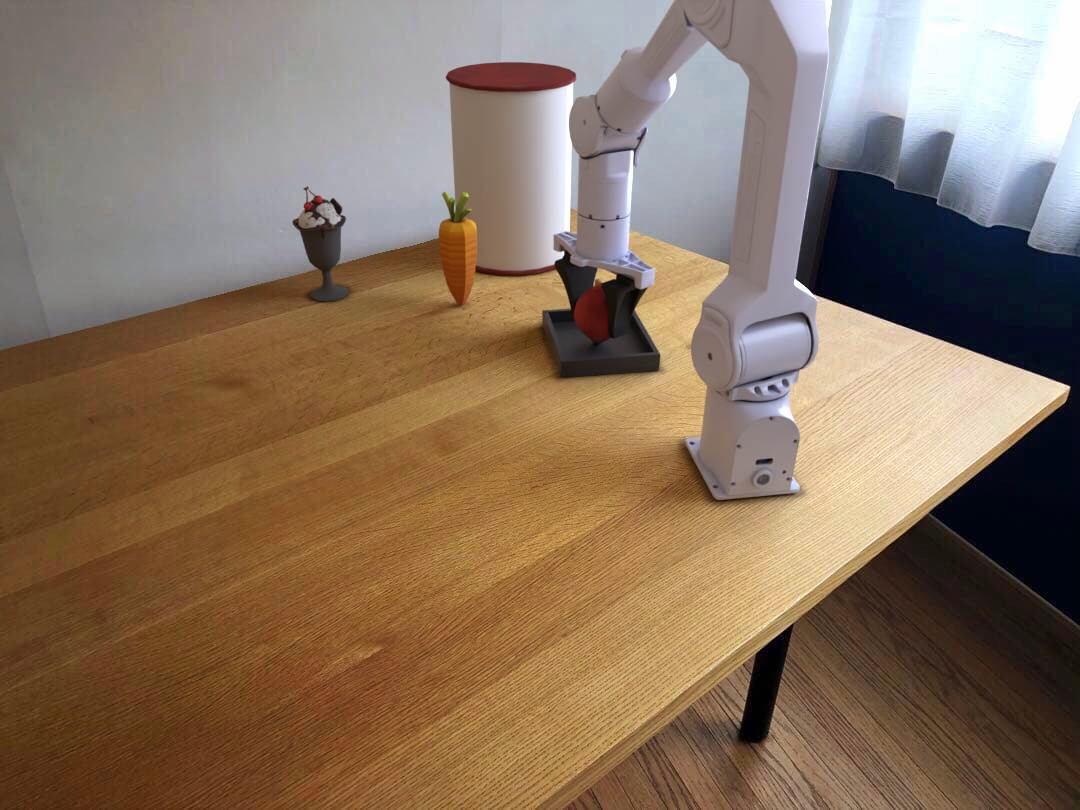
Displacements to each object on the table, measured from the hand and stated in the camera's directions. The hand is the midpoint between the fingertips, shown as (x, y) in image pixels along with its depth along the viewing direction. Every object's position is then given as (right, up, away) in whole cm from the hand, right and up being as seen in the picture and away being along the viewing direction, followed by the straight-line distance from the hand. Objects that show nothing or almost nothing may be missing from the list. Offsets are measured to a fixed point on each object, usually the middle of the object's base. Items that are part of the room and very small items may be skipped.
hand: (598, 325), depth 100 cm
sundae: (-35, +5, +14) cm, 38 cm away
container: (-11, +13, +27) cm, 32 cm away
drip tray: (0, -2, +1) cm, 3 cm away
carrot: (-17, +3, +11) cm, 21 cm away
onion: (0, -2, +1) cm, 2 cm away
